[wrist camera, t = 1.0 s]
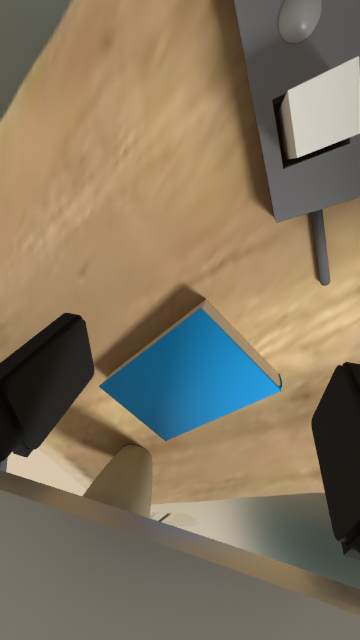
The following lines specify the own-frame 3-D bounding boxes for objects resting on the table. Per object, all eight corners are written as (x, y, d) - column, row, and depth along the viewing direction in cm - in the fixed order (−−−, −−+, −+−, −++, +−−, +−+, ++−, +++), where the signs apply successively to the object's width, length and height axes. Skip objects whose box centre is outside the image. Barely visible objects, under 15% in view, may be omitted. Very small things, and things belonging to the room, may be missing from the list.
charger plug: (327, 84, 22) (358, 50, 15) (332, 141, 24) (362, 132, 17) (277, 107, 23) (287, 86, 17) (285, 159, 25) (297, 158, 19)
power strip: (208, -129, 18) (199, -186, 15) (339, -245, 15) (360, -346, 12) (288, 291, 32) (291, 304, 29) (364, 274, 29) (377, 288, 26)
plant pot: (159, 480, 64) (134, 563, 50) (104, 456, 64) (66, 532, 51) (176, 450, 55) (151, 541, 42) (113, 424, 56) (69, 504, 43)
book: (98, 387, 45) (198, 308, 32) (110, 370, 49) (204, 293, 35) (168, 443, 49) (284, 394, 35) (174, 424, 52) (282, 373, 39)
